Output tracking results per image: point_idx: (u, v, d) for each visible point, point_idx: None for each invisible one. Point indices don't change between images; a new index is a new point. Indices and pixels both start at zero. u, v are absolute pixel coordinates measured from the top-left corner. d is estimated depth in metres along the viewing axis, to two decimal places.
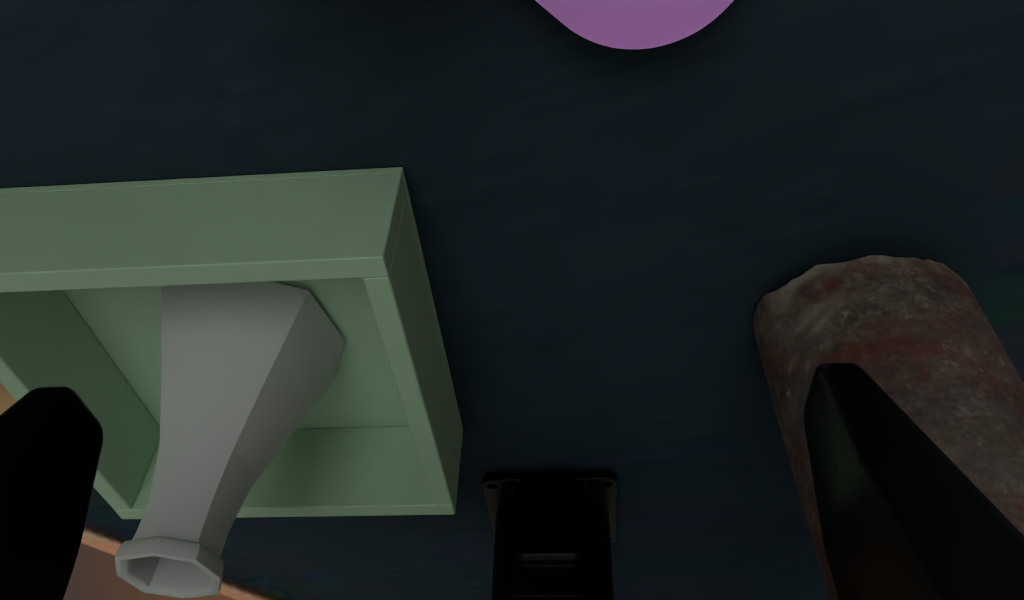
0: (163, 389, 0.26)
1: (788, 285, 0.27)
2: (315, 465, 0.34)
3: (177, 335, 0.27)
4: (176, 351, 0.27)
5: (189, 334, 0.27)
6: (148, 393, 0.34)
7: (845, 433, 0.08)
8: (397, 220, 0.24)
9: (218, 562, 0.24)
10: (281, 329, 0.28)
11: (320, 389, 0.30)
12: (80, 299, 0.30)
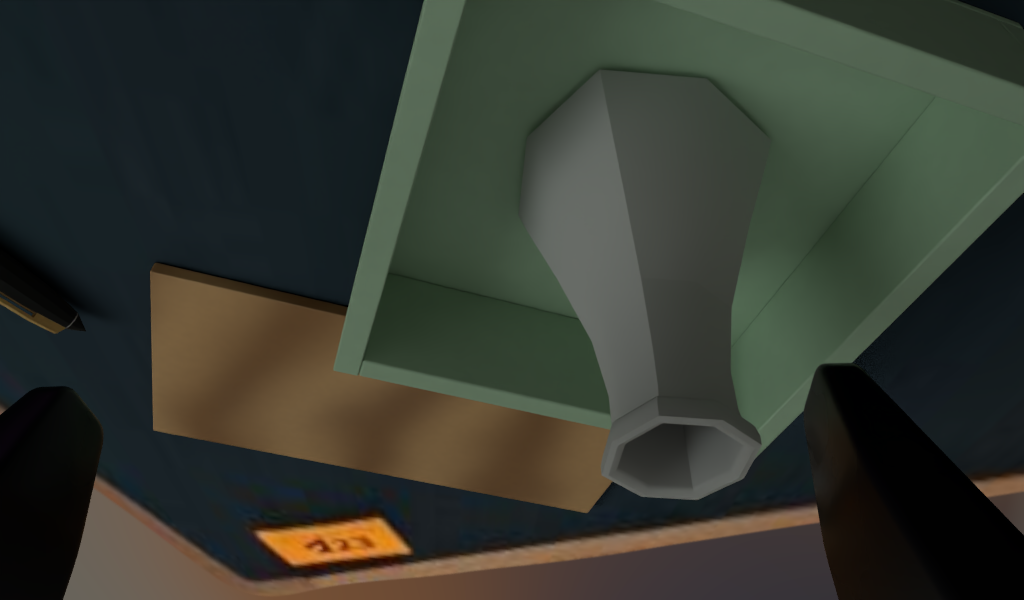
0: (565, 290, 0.21)
1: None
2: (867, 245, 0.22)
3: (545, 236, 0.22)
4: (550, 249, 0.22)
5: (547, 223, 0.22)
6: None
7: (845, 433, 0.08)
8: None
9: (706, 403, 0.15)
10: (602, 127, 0.20)
11: (740, 153, 0.21)
12: (505, 292, 0.27)
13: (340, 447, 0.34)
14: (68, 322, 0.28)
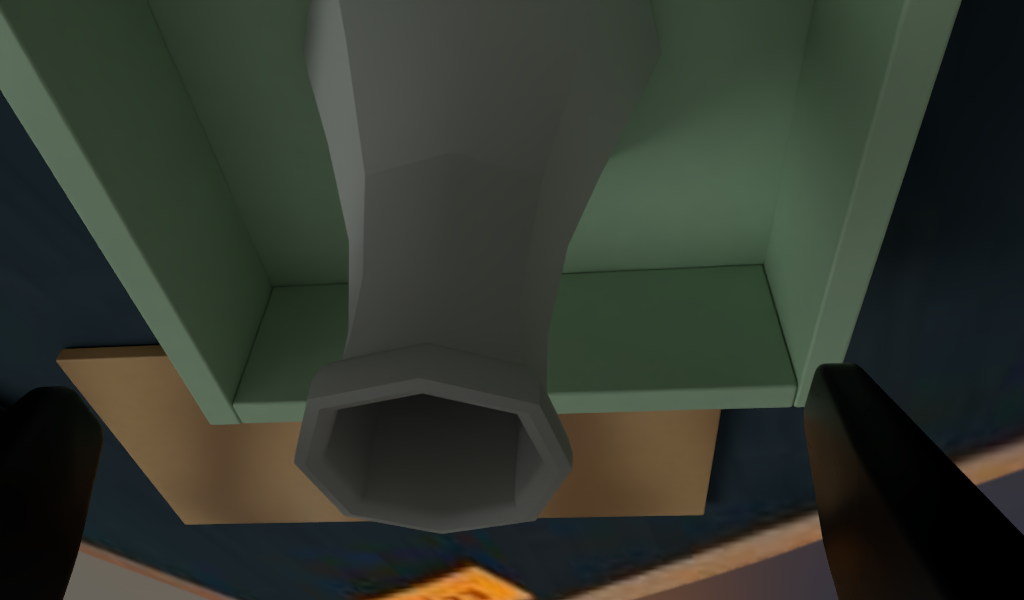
0: None
1: None
2: (848, 13, 0.13)
3: None
4: None
5: None
6: (652, 253, 0.20)
7: (845, 433, 0.08)
8: None
9: (401, 354, 0.08)
10: None
11: None
12: None
13: None
14: None
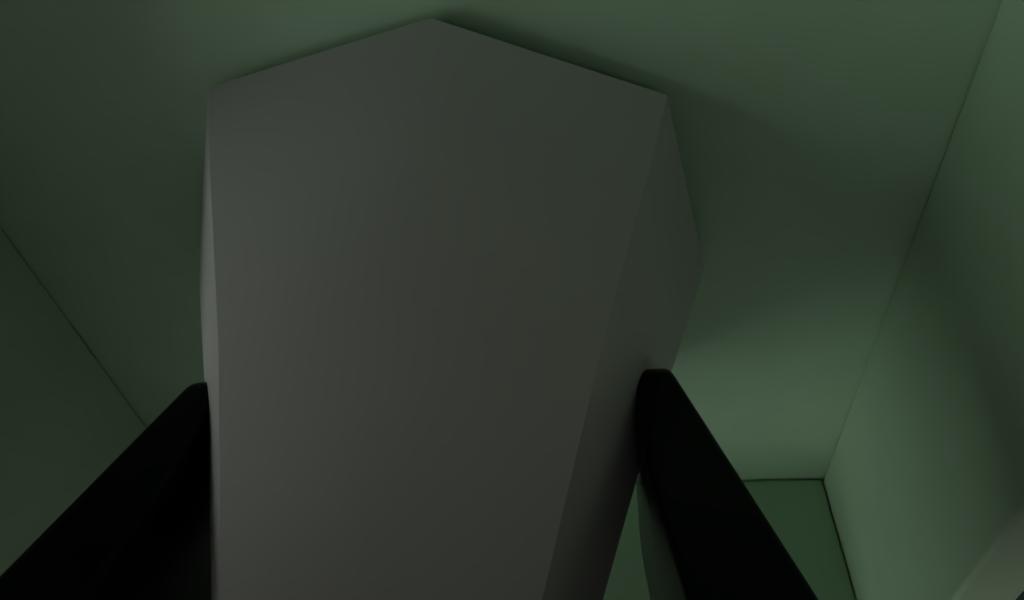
0: None
1: None
2: (1002, 266, 0.09)
3: None
4: None
5: None
6: None
7: (642, 438, 0.08)
8: None
9: None
10: (210, 217, 0.09)
11: (557, 162, 0.08)
12: None
13: None
14: None
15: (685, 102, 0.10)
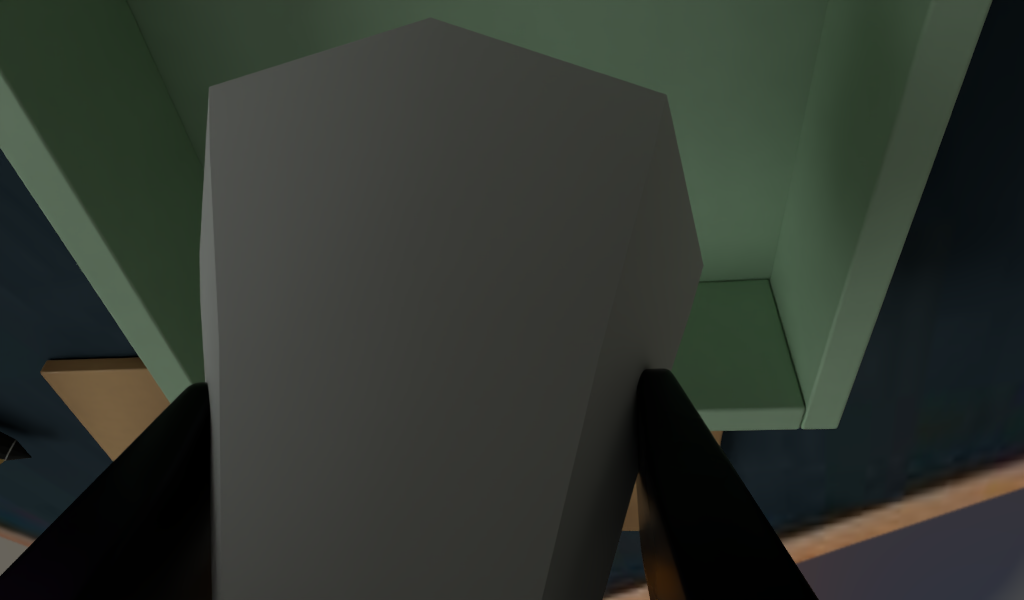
0: None
1: None
2: (864, 24, 0.12)
3: None
4: None
5: None
6: None
7: (642, 438, 0.08)
8: None
9: None
10: (211, 216, 0.09)
11: (557, 162, 0.08)
12: None
13: None
14: (4, 453, 0.25)
15: None
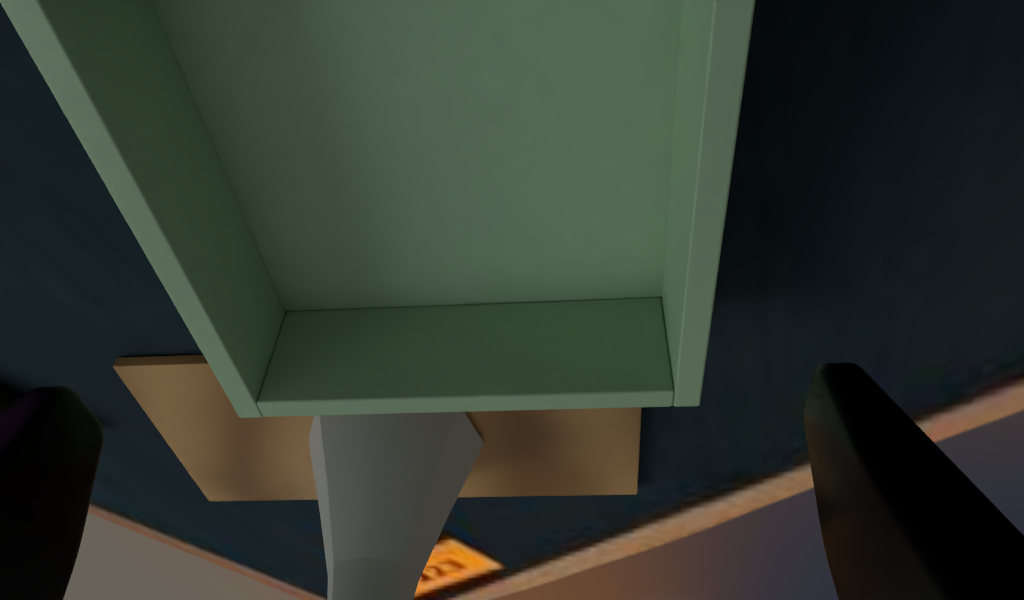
0: None
1: None
2: (684, 138, 0.19)
3: None
4: None
5: None
6: (575, 288, 0.26)
7: (845, 433, 0.08)
8: None
9: None
10: (321, 443, 0.29)
11: (421, 431, 0.29)
12: (404, 298, 0.27)
13: None
14: None
15: (549, 66, 0.20)
